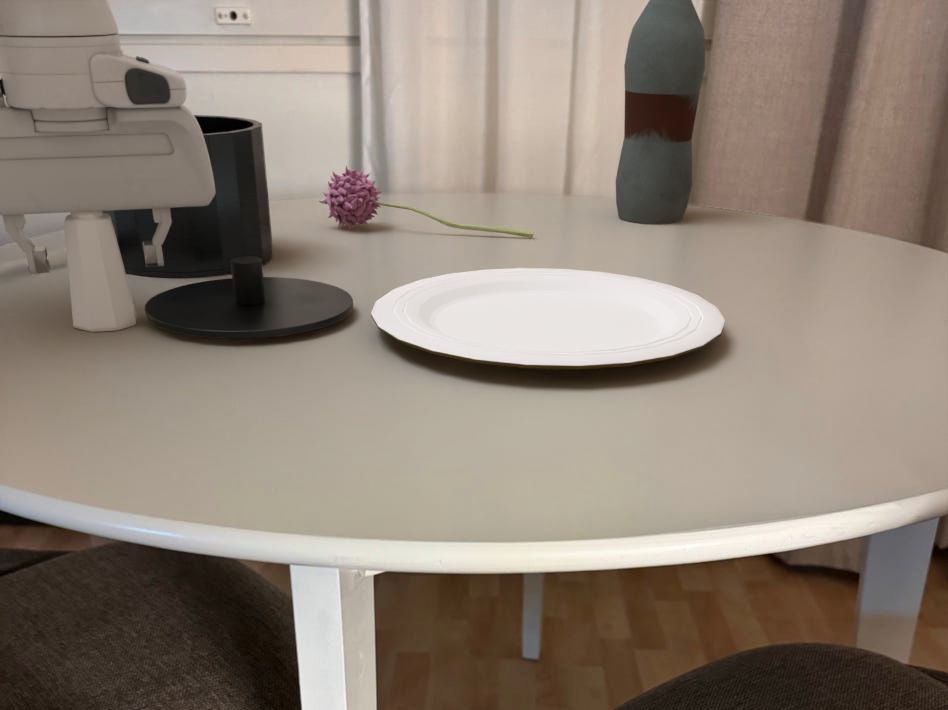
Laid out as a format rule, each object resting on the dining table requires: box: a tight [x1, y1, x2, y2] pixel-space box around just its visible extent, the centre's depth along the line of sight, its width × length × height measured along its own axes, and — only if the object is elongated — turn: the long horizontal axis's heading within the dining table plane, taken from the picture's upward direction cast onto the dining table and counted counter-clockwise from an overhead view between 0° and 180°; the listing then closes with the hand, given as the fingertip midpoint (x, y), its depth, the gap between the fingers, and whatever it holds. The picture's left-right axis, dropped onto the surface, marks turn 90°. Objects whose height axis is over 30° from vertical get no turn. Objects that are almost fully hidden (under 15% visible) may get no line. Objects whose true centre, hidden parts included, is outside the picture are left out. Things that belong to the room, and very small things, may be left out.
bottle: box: [615, 0, 706, 225], centre depth 123 cm, size 9×9×30 cm
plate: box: [370, 267, 726, 371], centre depth 89 cm, size 29×29×2 cm
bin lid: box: [144, 256, 354, 340], centre depth 91 cm, size 18×18×5 cm
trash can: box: [102, 114, 274, 278], centre depth 107 cm, size 17×17×12 cm
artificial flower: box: [318, 165, 535, 239], centre depth 121 cm, size 7×7×25 cm
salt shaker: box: [64, 211, 138, 333], centre depth 87 cm, size 5×5×11 cm
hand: (98, 268), depth 87 cm, fingers open, 8 cm apart
